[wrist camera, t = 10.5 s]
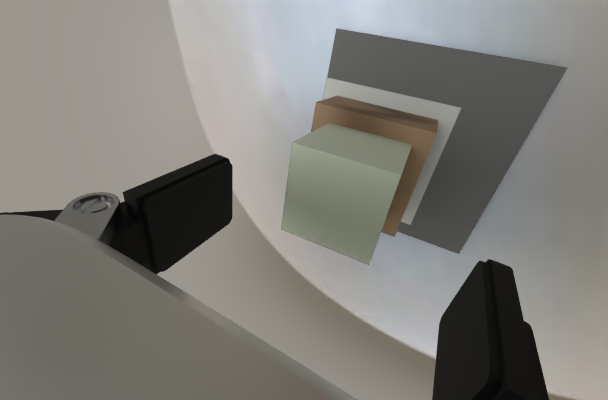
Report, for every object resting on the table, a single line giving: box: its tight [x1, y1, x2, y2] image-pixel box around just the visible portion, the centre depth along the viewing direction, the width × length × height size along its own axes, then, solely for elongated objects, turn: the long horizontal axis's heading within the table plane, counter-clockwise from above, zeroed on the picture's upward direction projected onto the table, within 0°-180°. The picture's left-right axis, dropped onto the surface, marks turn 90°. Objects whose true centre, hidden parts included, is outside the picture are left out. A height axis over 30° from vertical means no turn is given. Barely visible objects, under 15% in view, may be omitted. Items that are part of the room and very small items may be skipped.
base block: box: [311, 96, 438, 237], centre depth 19 cm, size 7×7×4 cm
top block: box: [281, 123, 412, 265], centre depth 15 cm, size 5×5×5 cm
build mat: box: [323, 29, 567, 254], centre depth 20 cm, size 13×13×1 cm
